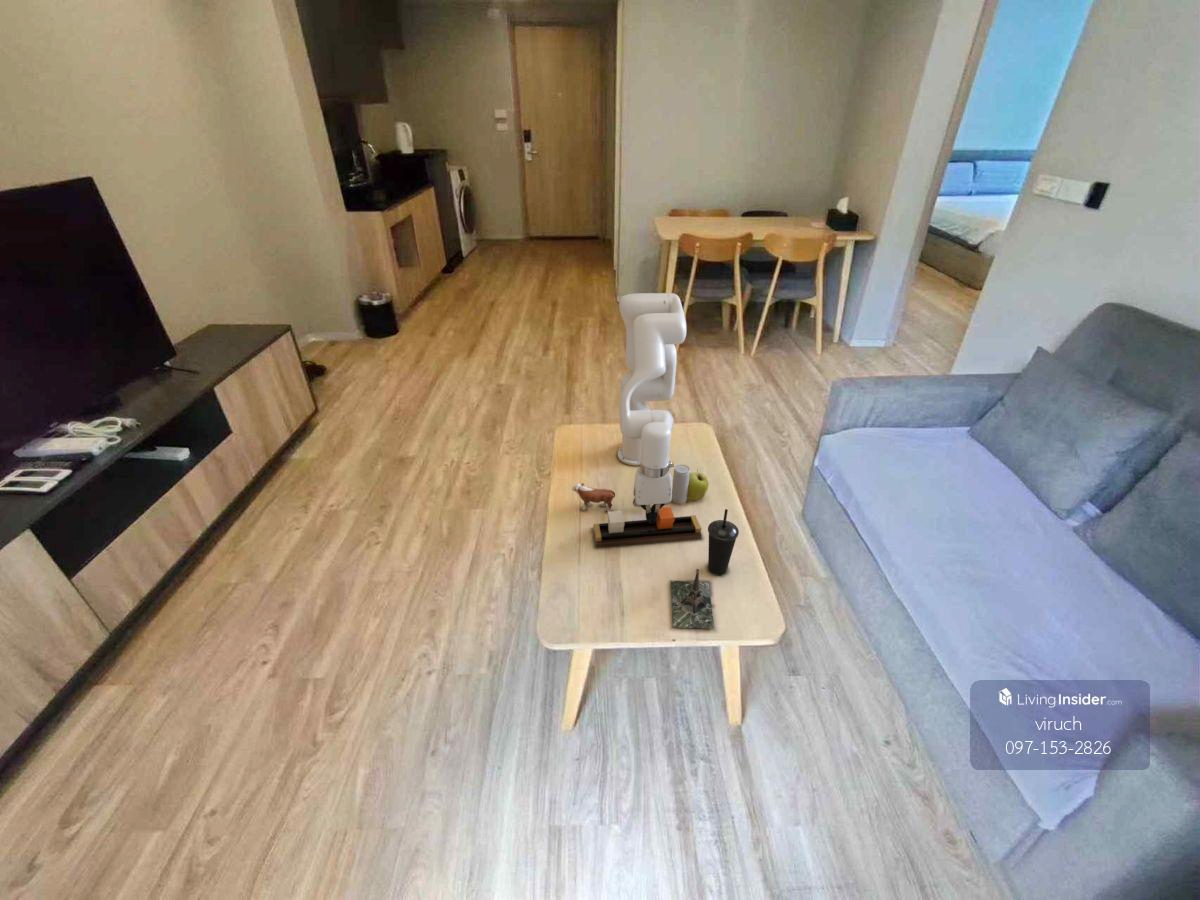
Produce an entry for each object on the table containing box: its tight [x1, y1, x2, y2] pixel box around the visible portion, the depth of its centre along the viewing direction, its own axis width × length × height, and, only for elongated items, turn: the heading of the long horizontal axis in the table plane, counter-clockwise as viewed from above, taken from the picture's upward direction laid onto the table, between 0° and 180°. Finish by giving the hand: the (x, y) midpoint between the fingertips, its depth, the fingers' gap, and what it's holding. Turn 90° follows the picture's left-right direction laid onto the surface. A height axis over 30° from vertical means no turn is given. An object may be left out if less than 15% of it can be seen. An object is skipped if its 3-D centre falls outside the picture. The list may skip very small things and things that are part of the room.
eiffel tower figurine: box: [670, 568, 715, 629], centre depth 129 cm, size 15×10×13 cm
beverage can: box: [671, 464, 691, 505], centre depth 164 cm, size 5×5×12 cm
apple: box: [687, 469, 709, 501], centre depth 167 cm, size 8×8×10 cm
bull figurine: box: [571, 482, 616, 513], centre depth 162 cm, size 4×13×8 cm, turn 78°
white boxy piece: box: [607, 510, 625, 534], centre depth 151 cm, size 5×4×6 cm
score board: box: [592, 522, 702, 549], centre depth 154 cm, size 8×30×2 cm, turn 97°
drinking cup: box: [707, 508, 740, 576], centre depth 137 cm, size 8×8×20 cm
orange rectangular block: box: [657, 506, 675, 529], centre depth 152 cm, size 5×4×6 cm
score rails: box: [593, 514, 702, 541], centre depth 153 cm, size 6×30×2 cm, turn 97°
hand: (651, 520), depth 152 cm, fingers closed
